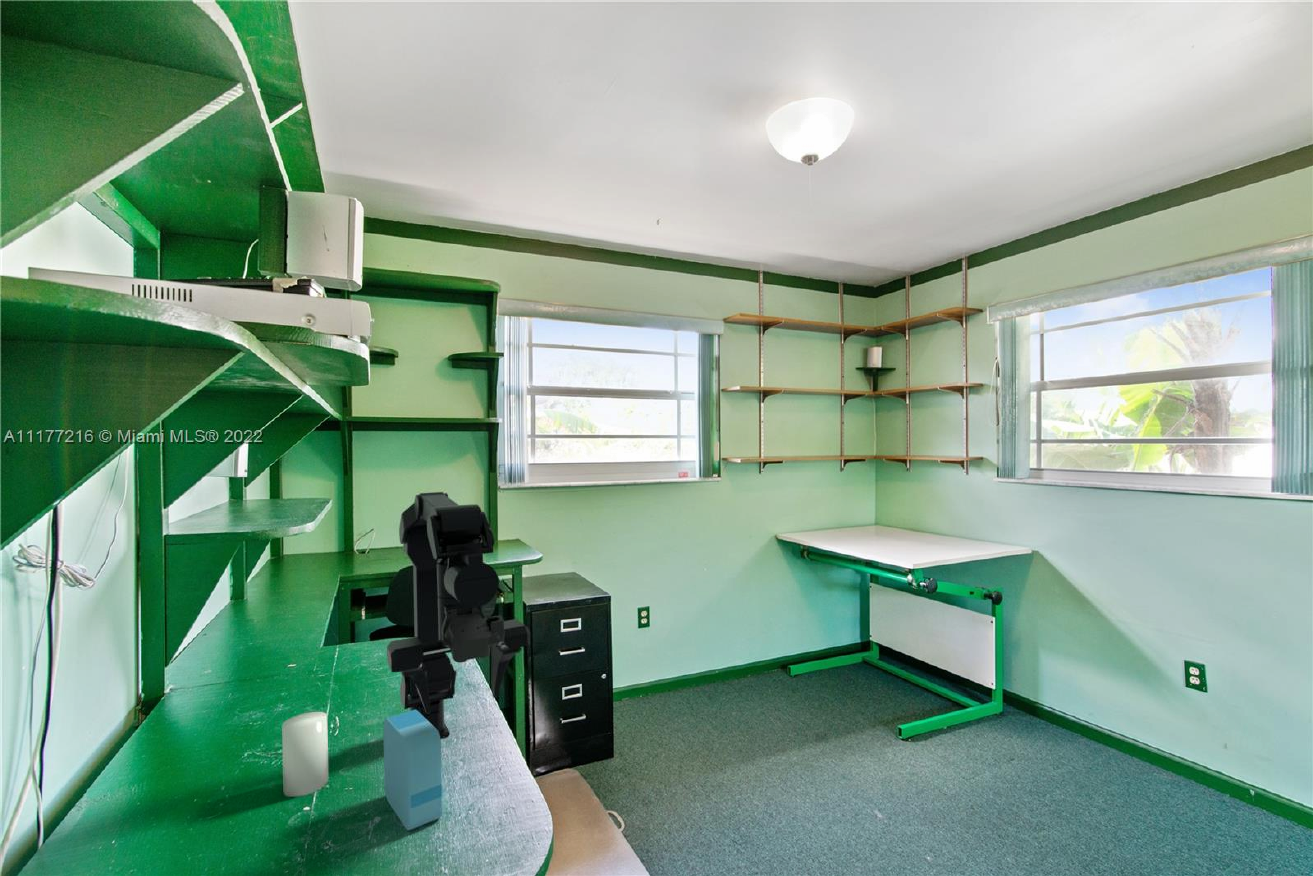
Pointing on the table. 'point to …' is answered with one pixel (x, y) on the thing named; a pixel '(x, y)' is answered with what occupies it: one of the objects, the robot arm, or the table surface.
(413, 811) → the light blue rounded block
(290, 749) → the white rounded cylinder
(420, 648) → the robot arm
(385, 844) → the table surface
